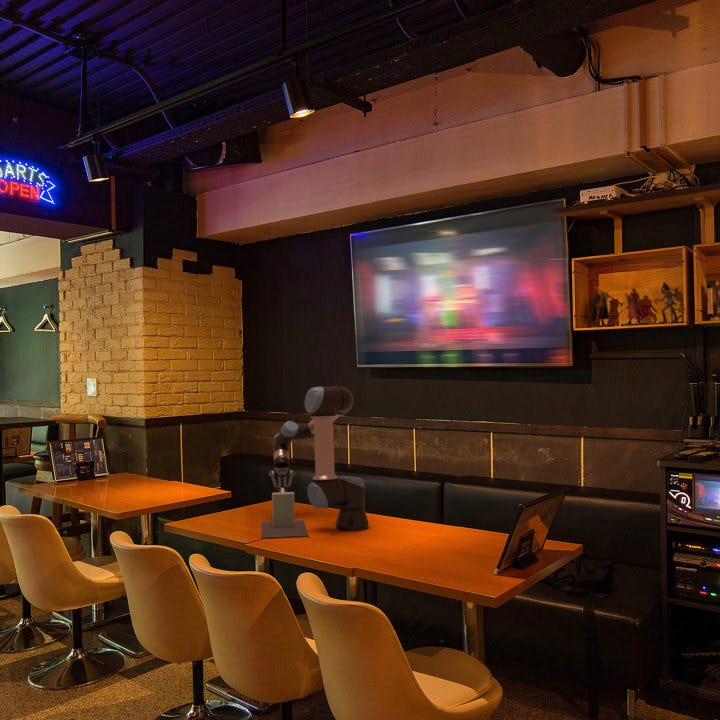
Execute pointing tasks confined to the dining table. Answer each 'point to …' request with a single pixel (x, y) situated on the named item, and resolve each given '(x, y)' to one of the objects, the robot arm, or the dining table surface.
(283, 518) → the tile
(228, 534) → the dining table surface
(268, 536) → the mat
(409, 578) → the dining table surface
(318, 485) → the robot arm
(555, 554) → the dining table surface
